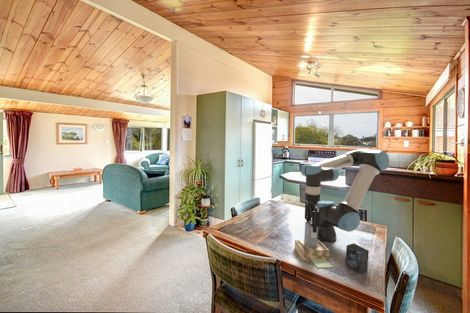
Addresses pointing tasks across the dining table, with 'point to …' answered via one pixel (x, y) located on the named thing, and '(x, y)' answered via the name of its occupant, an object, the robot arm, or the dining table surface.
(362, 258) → the box
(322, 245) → the socket block
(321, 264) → the felt pad
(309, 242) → the plug
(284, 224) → the dining table surface
